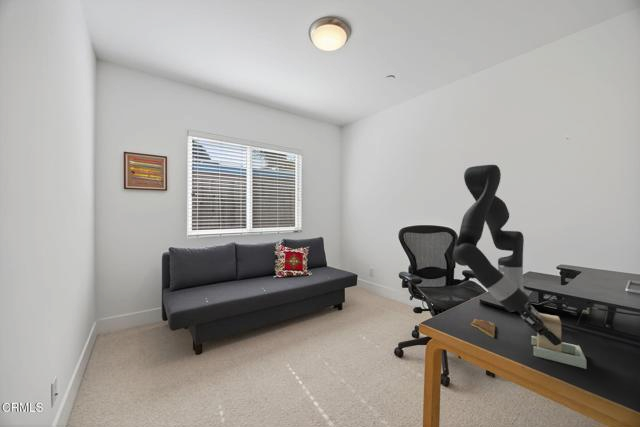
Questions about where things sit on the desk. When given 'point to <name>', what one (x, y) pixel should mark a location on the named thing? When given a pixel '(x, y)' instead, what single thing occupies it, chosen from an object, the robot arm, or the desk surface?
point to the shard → (484, 326)
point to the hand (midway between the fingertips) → (556, 339)
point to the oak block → (555, 328)
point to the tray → (562, 354)
